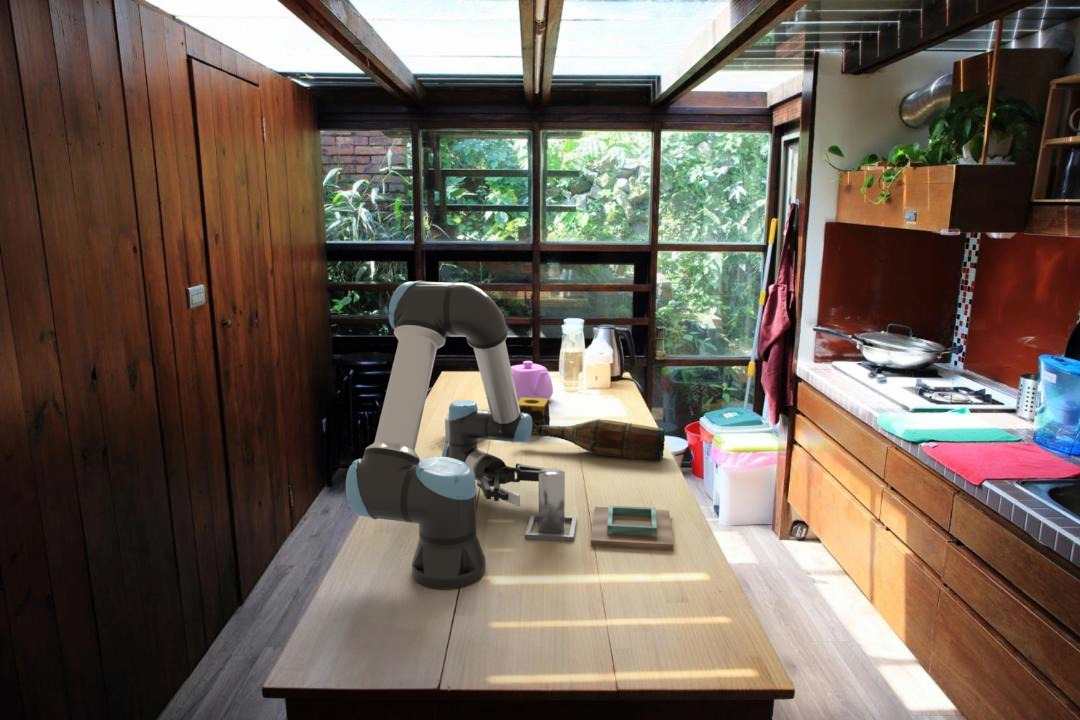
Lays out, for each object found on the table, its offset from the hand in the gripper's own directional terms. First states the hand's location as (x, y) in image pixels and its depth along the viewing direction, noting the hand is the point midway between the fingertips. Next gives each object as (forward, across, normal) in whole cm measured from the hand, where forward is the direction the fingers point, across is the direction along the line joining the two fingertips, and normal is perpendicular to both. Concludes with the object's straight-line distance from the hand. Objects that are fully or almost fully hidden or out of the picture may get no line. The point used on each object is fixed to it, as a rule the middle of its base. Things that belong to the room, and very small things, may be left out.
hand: (541, 493), depth 173 cm
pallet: (+17, -13, -7) cm, 23 cm away
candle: (-54, -45, -8) cm, 71 cm away
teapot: (-83, -68, -8) cm, 107 cm away
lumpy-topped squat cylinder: (-63, -24, -8) cm, 68 cm away
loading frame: (+4, +1, -7) cm, 9 cm away
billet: (+4, +1, -7) cm, 9 cm away
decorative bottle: (-26, -43, -8) cm, 51 cm away
